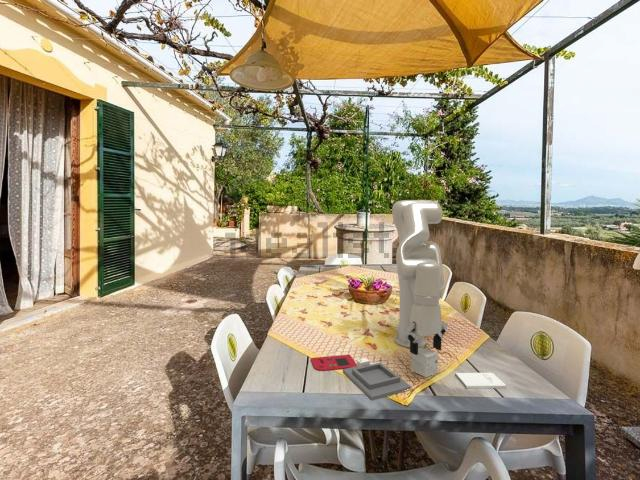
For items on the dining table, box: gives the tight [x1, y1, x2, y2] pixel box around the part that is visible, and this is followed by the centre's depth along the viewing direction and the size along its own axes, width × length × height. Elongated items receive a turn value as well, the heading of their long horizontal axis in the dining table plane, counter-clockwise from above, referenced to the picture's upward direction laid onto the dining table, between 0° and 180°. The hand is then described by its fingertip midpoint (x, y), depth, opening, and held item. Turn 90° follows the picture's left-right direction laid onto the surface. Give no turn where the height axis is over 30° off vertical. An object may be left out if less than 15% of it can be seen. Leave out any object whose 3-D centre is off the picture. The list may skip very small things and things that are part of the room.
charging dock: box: [342, 357, 412, 401], centre depth 109 cm, size 18×14×4 cm
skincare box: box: [411, 346, 439, 378], centre depth 114 cm, size 6×6×7 cm
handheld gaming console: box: [310, 354, 357, 372], centre depth 121 cm, size 10×1×15 cm
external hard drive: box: [454, 372, 507, 390], centre depth 109 cm, size 2×8×12 cm
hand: (425, 351), depth 113 cm, fingers open, 9 cm apart
